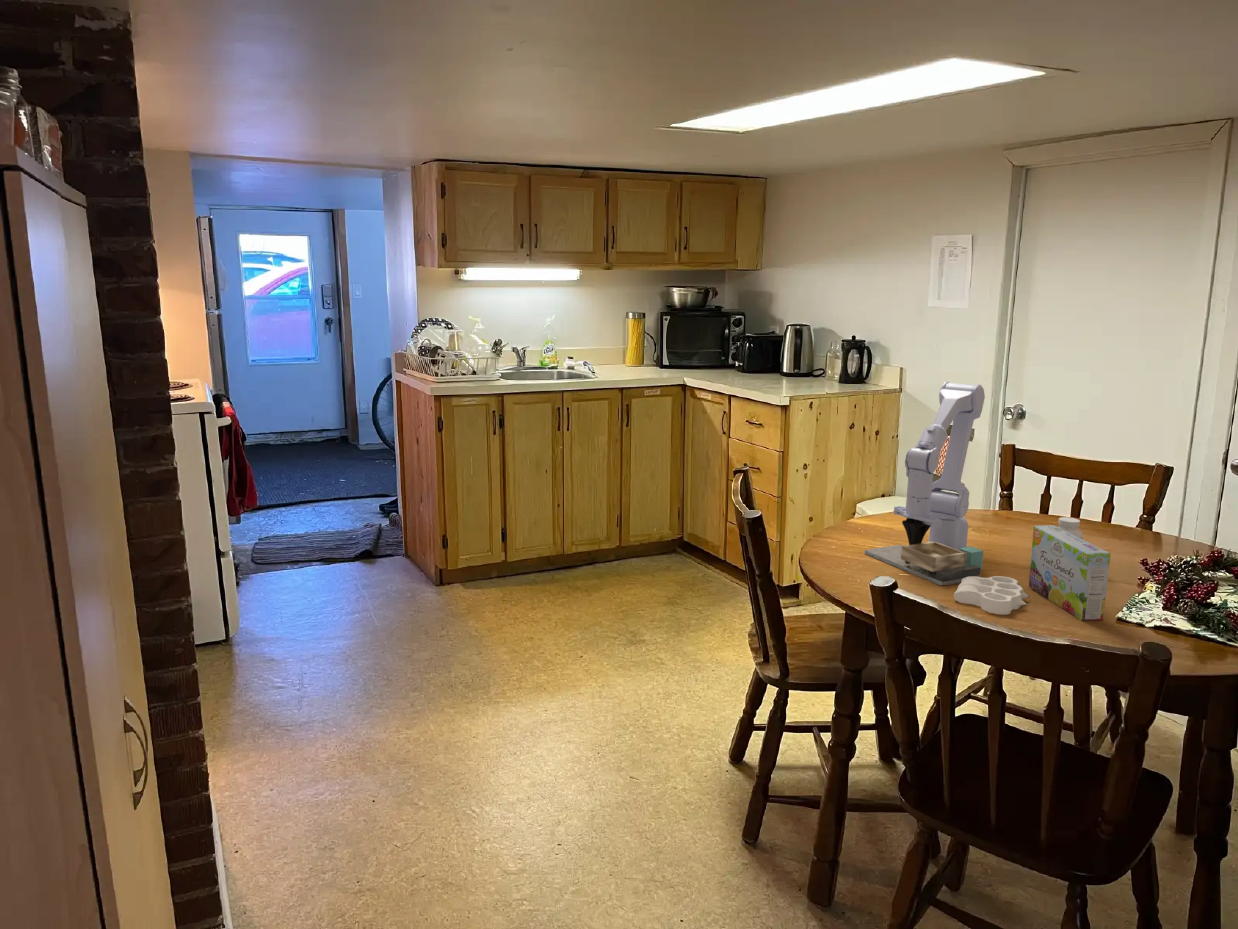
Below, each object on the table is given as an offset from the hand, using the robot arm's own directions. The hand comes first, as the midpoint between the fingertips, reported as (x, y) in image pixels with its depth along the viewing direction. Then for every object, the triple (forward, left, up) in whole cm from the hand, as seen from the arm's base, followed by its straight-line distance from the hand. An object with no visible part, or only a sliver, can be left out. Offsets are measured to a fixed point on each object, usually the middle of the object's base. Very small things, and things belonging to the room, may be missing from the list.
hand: (914, 548), depth 220 cm
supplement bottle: (-31, +19, -4) cm, 36 cm away
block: (-10, +9, -4) cm, 14 cm away
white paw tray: (+2, +27, -4) cm, 27 cm away
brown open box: (0, +6, -3) cm, 7 cm away
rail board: (0, +2, -4) cm, 4 cm away
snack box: (-11, +35, -4) cm, 37 cm away
